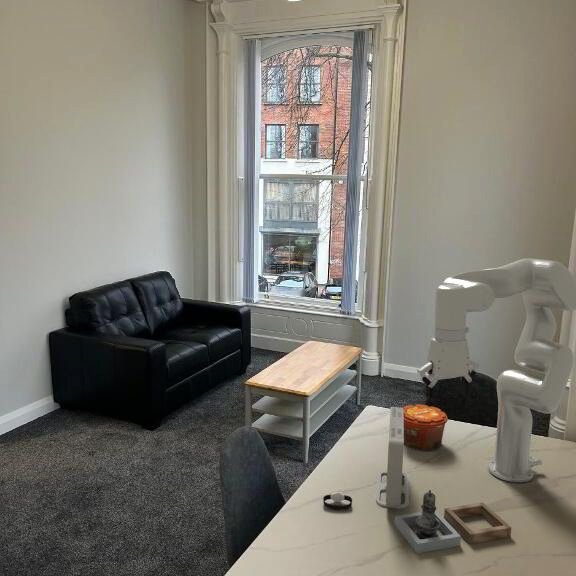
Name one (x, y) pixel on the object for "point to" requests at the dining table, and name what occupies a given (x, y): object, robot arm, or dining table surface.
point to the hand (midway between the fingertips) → (447, 397)
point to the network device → (394, 465)
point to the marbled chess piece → (427, 518)
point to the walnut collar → (476, 536)
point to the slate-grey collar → (431, 543)
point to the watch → (337, 498)
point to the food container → (423, 427)
